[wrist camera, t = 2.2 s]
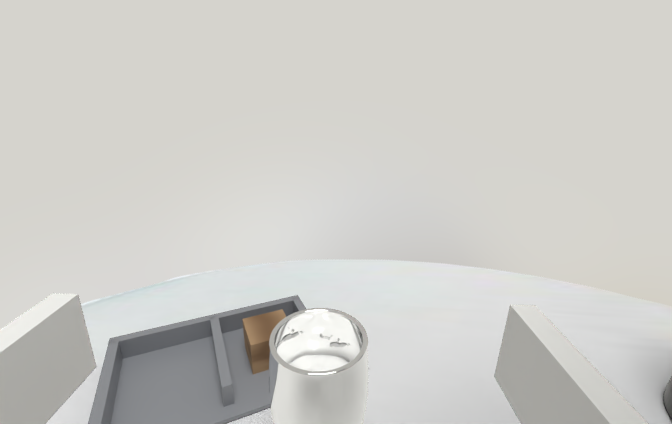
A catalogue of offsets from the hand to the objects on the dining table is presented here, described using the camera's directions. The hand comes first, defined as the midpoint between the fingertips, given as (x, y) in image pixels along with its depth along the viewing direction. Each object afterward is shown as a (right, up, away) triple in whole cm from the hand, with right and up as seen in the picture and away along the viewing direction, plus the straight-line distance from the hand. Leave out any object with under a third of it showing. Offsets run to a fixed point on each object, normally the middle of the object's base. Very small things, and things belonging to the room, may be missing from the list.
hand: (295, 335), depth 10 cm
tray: (-12, -14, +28) cm, 34 cm away
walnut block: (-7, -13, +30) cm, 34 cm away
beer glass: (0, -19, +17) cm, 25 cm away
